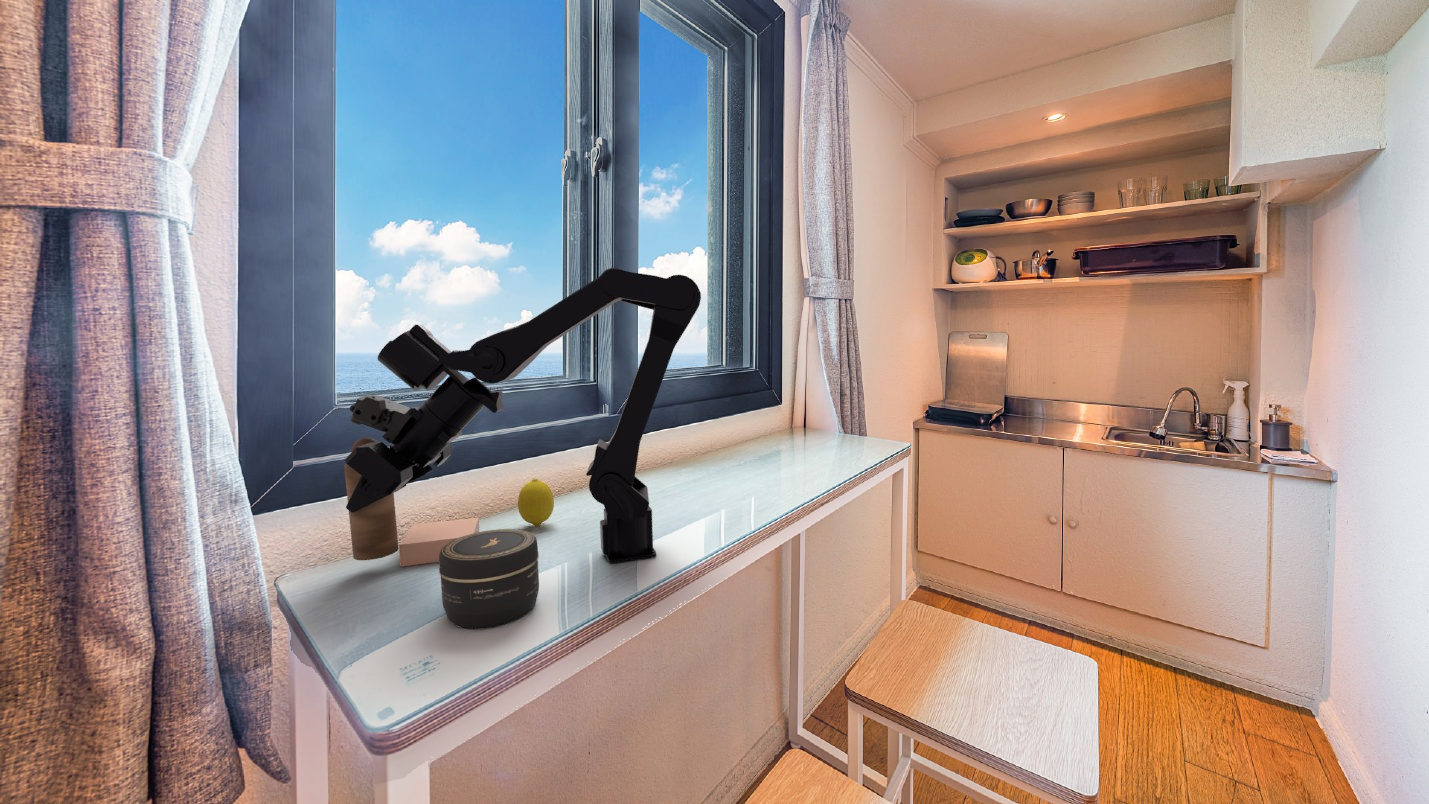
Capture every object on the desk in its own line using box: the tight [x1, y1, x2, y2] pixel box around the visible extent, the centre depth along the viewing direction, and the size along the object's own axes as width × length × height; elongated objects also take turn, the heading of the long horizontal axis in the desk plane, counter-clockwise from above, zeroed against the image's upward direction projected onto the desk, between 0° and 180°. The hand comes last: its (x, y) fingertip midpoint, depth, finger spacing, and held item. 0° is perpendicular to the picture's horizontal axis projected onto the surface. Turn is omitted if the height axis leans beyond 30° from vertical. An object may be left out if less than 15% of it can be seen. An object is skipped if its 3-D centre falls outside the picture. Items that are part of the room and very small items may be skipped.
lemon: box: [517, 478, 555, 528], centre depth 86 cm, size 6×6×8 cm
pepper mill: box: [343, 437, 399, 561], centre depth 68 cm, size 5×5×15 cm
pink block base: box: [398, 517, 480, 568], centre depth 76 cm, size 9×9×3 cm
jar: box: [438, 528, 540, 630], centre depth 58 cm, size 10×10×8 cm
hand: (360, 504), depth 68 cm, fingers closed on pepper mill, 5 cm apart
